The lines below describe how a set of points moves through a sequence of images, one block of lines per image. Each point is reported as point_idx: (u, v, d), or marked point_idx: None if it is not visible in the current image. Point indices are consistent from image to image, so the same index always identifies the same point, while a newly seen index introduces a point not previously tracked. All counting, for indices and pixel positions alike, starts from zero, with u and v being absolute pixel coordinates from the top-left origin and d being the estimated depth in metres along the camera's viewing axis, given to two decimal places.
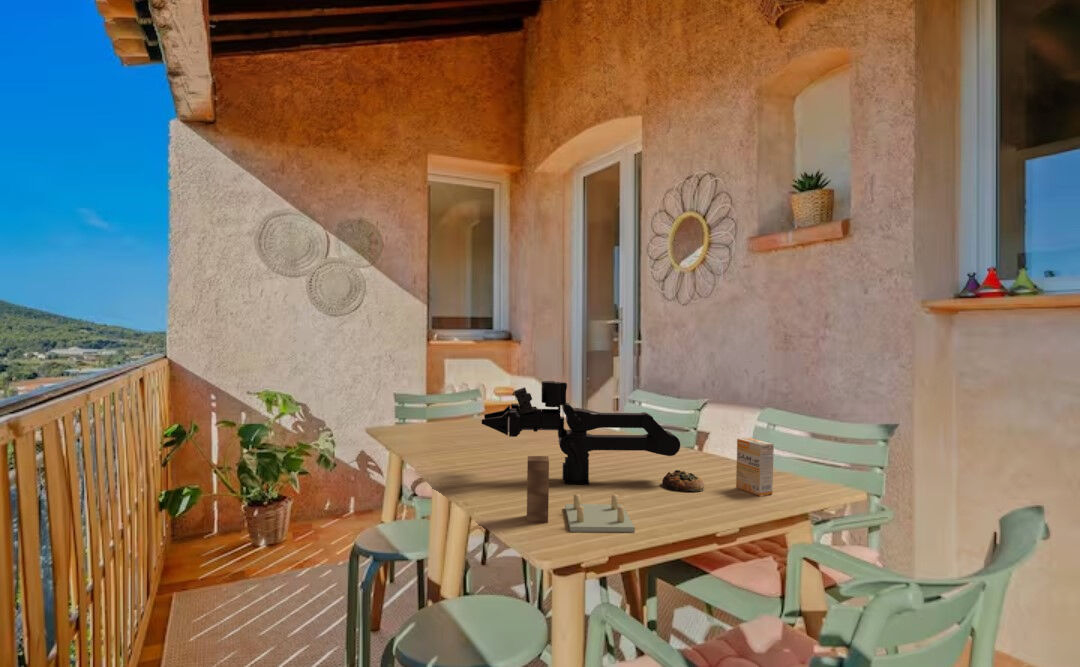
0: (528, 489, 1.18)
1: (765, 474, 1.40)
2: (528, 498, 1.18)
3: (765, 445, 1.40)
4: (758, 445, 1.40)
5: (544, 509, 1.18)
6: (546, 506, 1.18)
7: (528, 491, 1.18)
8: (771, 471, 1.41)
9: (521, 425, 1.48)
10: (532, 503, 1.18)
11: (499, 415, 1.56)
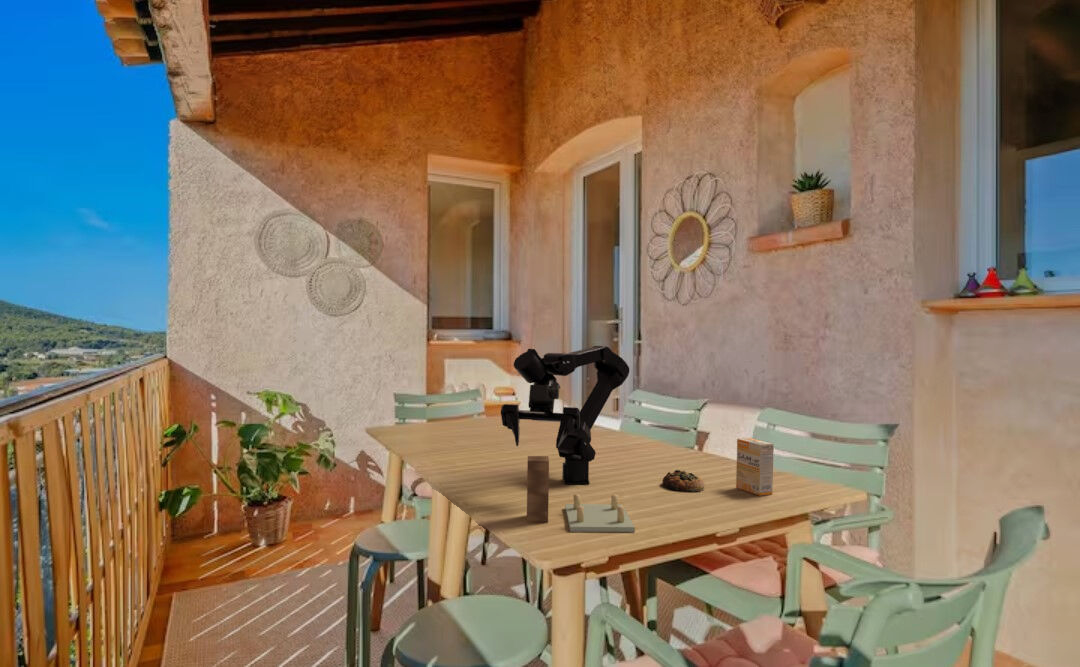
0: (528, 489, 1.18)
1: (764, 474, 1.40)
2: (528, 498, 1.18)
3: (765, 445, 1.40)
4: (758, 445, 1.40)
5: (544, 509, 1.18)
6: (546, 506, 1.18)
7: (528, 491, 1.18)
8: (771, 471, 1.41)
9: None
10: (532, 503, 1.18)
11: (518, 429, 1.32)
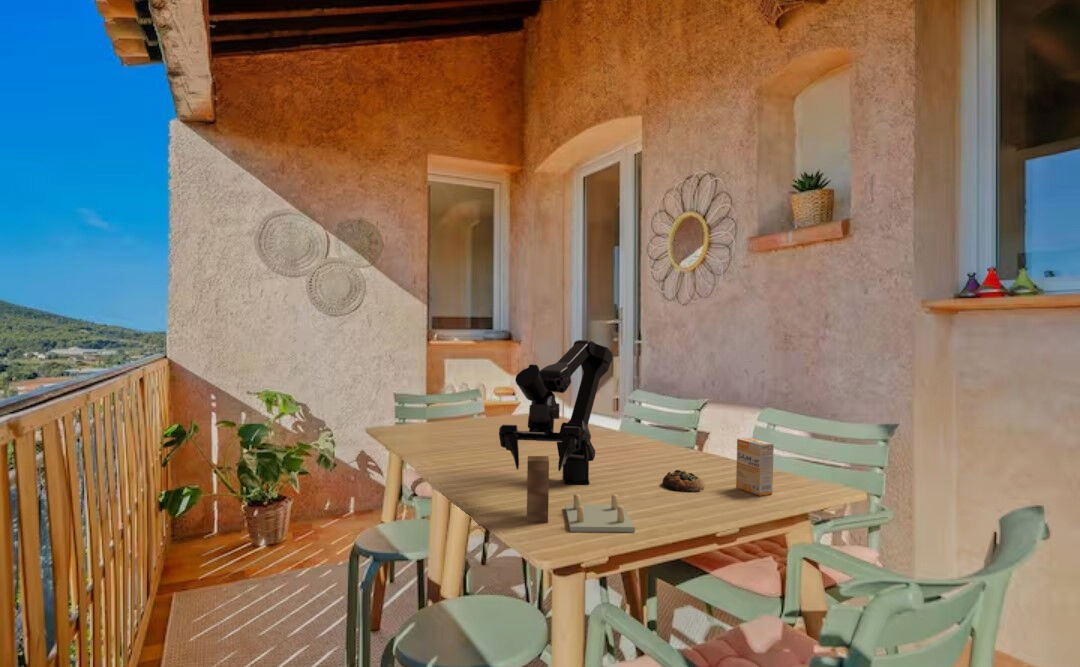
0: (528, 489, 1.18)
1: (764, 474, 1.40)
2: (528, 498, 1.18)
3: (765, 445, 1.40)
4: (758, 445, 1.40)
5: (544, 509, 1.18)
6: (546, 506, 1.18)
7: (528, 491, 1.18)
8: (771, 471, 1.41)
9: None
10: (532, 503, 1.18)
11: None
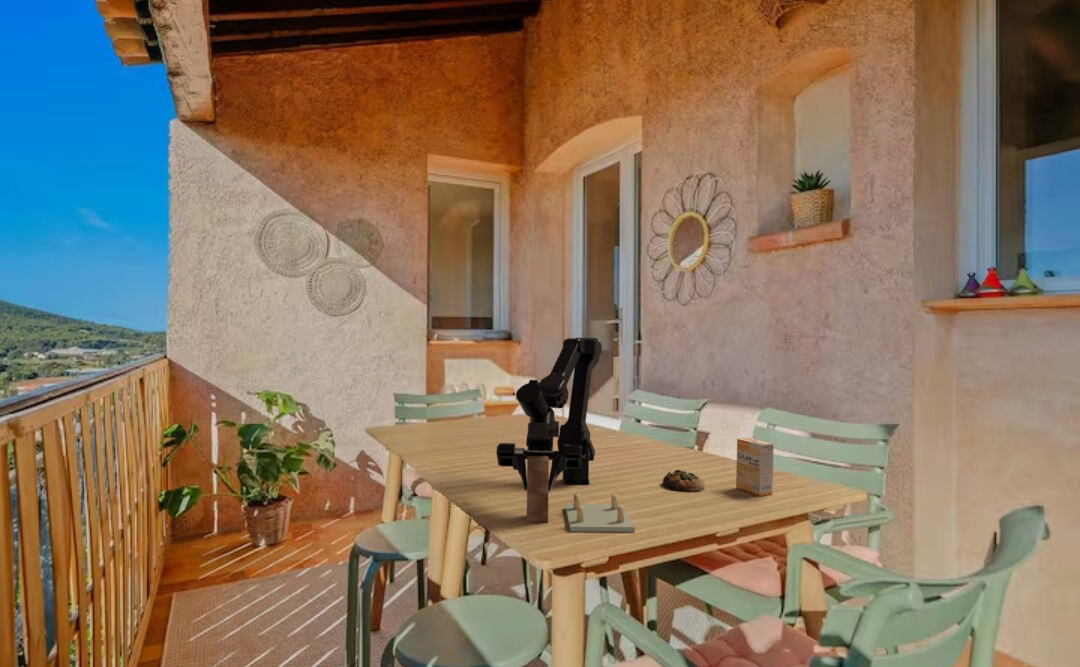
0: (527, 489, 1.18)
1: (764, 474, 1.40)
2: (528, 498, 1.18)
3: (765, 445, 1.40)
4: (758, 445, 1.40)
5: (544, 508, 1.18)
6: (546, 506, 1.18)
7: (528, 491, 1.18)
8: (771, 471, 1.41)
9: None
10: (532, 503, 1.18)
11: None
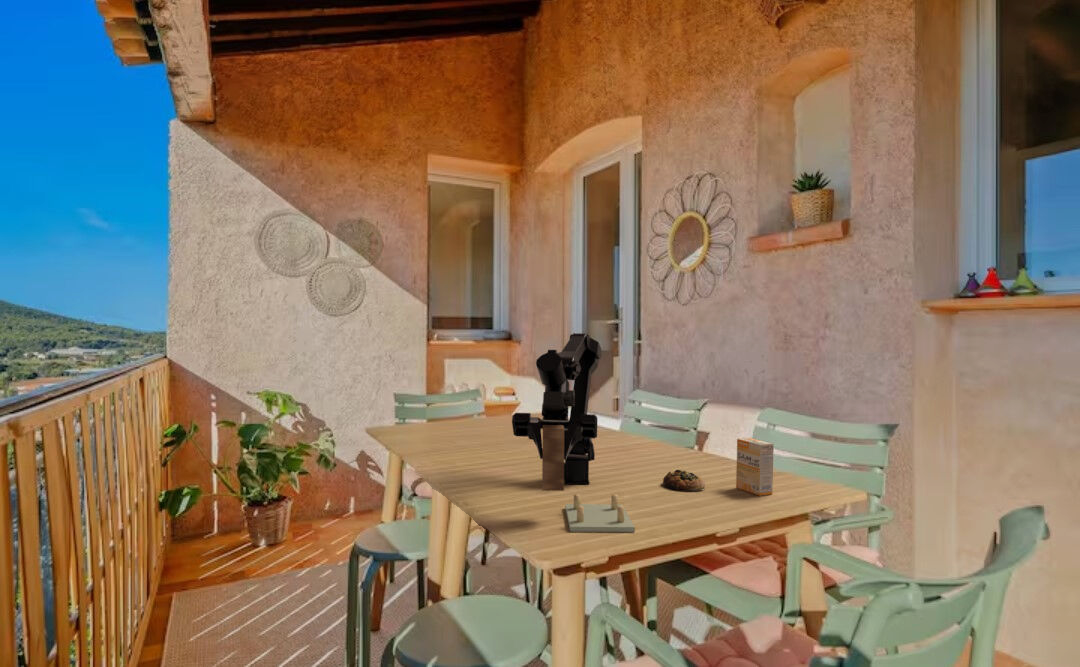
0: (543, 457, 1.18)
1: (764, 474, 1.40)
2: (544, 466, 1.18)
3: (765, 445, 1.40)
4: (758, 445, 1.40)
5: (559, 476, 1.18)
6: (561, 474, 1.18)
7: (544, 459, 1.18)
8: (771, 471, 1.41)
9: None
10: (547, 471, 1.18)
11: None
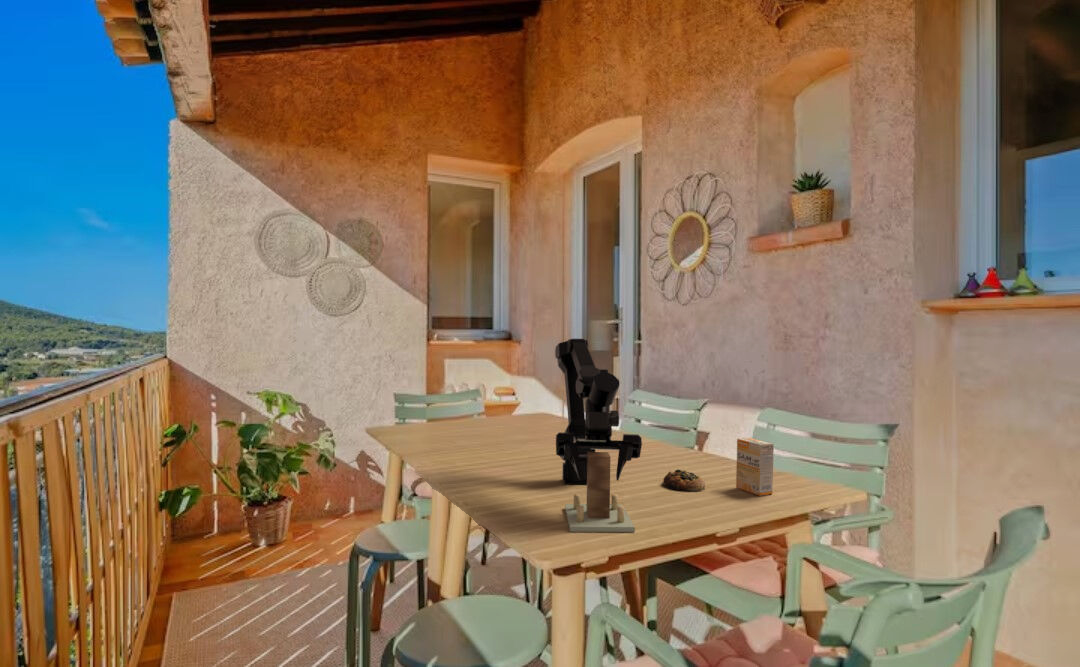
0: (589, 485, 1.18)
1: (764, 474, 1.40)
2: (589, 494, 1.18)
3: (765, 445, 1.40)
4: (758, 445, 1.40)
5: (605, 504, 1.18)
6: (607, 502, 1.18)
7: (590, 487, 1.18)
8: (771, 471, 1.41)
9: None
10: (593, 499, 1.18)
11: None
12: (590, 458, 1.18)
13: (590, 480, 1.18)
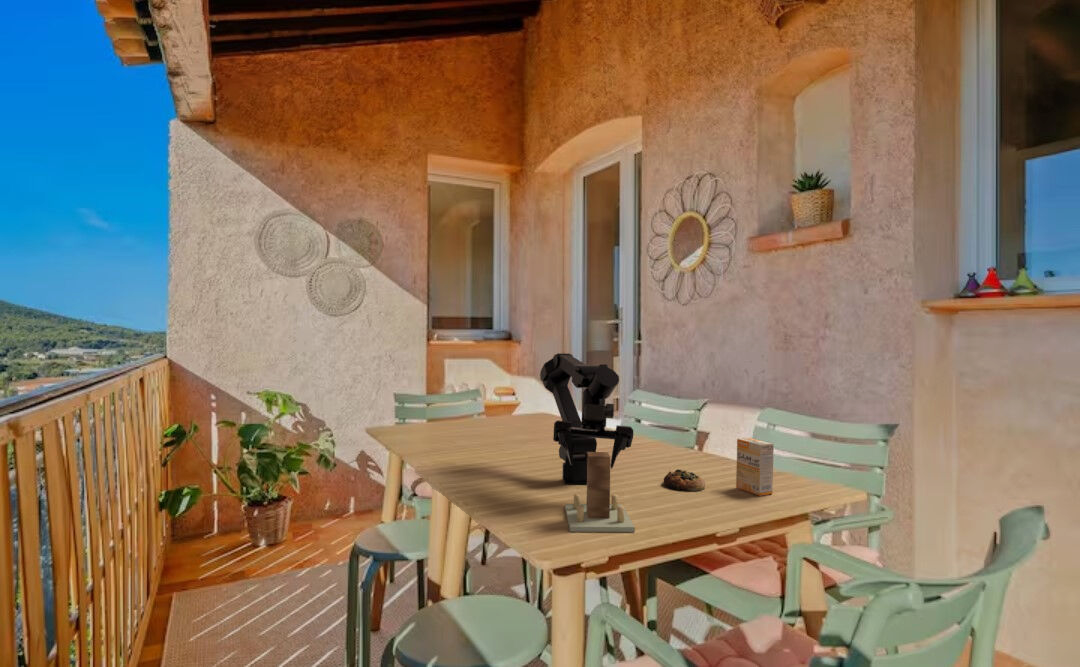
0: (589, 485, 1.18)
1: (764, 474, 1.40)
2: (589, 494, 1.18)
3: (765, 445, 1.40)
4: (758, 445, 1.40)
5: (605, 504, 1.18)
6: (607, 502, 1.18)
7: (590, 487, 1.18)
8: (771, 471, 1.41)
9: None
10: (593, 499, 1.18)
11: None
12: (590, 458, 1.18)
13: (590, 480, 1.18)
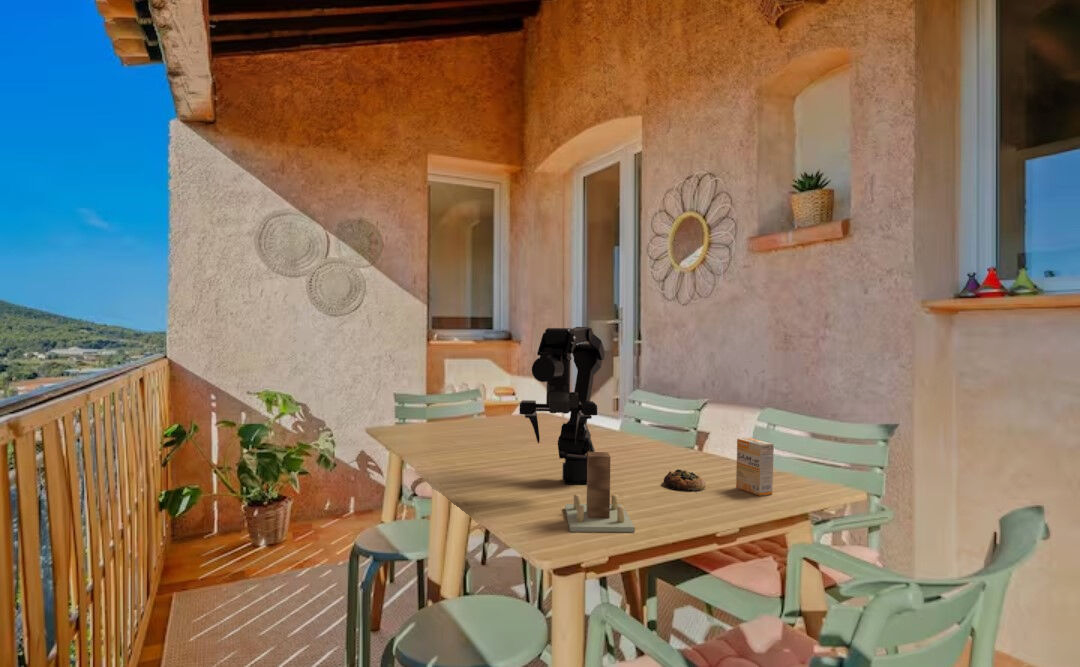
0: (589, 485, 1.18)
1: (764, 474, 1.40)
2: (589, 494, 1.18)
3: (765, 445, 1.40)
4: (758, 445, 1.40)
5: (605, 504, 1.18)
6: (607, 502, 1.18)
7: (590, 487, 1.18)
8: (771, 471, 1.41)
9: None
10: (593, 499, 1.18)
11: None
12: (590, 458, 1.18)
13: (590, 480, 1.18)
